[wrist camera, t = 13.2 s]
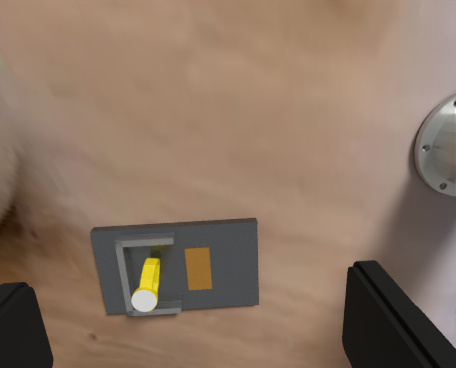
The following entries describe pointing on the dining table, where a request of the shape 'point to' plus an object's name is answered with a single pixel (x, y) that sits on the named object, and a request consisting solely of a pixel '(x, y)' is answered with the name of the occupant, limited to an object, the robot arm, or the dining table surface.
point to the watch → (147, 286)
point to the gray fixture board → (180, 264)
